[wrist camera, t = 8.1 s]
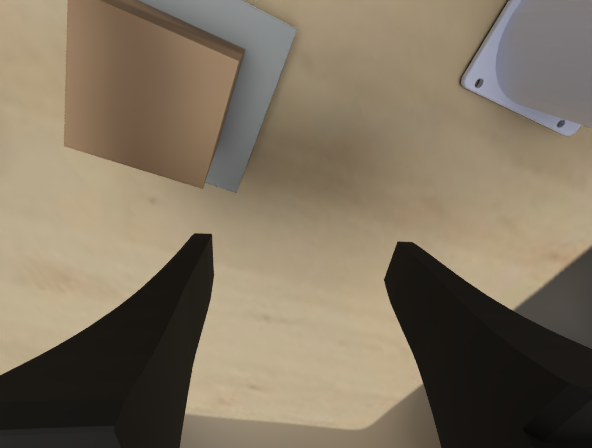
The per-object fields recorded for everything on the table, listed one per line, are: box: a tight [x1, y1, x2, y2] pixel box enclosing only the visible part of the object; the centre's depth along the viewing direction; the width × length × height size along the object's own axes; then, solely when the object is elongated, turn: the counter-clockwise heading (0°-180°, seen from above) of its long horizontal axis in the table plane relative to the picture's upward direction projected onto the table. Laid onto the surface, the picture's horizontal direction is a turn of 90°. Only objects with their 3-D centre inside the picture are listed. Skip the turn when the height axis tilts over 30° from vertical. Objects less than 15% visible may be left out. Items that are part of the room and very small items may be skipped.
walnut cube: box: [64, 0, 246, 189], centre depth 13 cm, size 5×5×5 cm
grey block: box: [138, 0, 297, 193], centre depth 16 cm, size 9×9×4 cm
